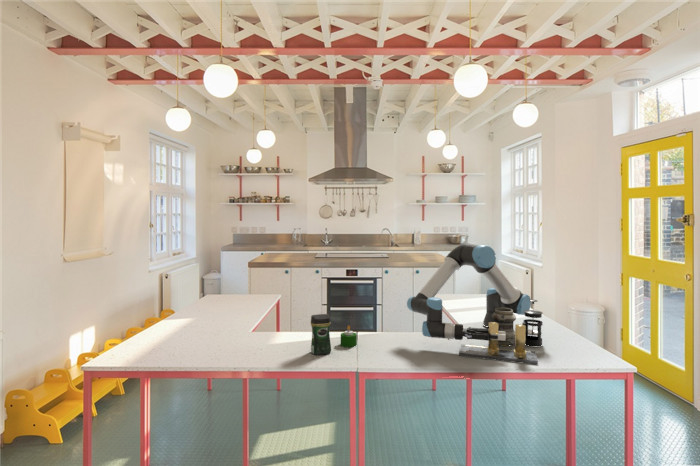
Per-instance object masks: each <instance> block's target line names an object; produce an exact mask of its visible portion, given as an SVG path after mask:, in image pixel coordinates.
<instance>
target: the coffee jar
mask: <svg viewBox="0 0 700 466" xmlns="http://www.w3.org/2000/svg"><path fill="white" fill-rule="evenodd" d="M310 317H311V318H310V326H311V345H310V352H311V354H312V355H315V356H316V355H317V356H321V355H328V354H330V353H332V346H331V345H332V344H331V335H330V334H331V333H330V326H331V324H332V322H331V316H330V315H329V313H322V314H320V313H319V314H318V313H317V314H312V315H311V316H310Z"/></svg>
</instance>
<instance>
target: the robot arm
mask: <svg viewBox="0 0 700 466" xmlns="http://www.w3.org/2000/svg"><path fill="white" fill-rule="evenodd" d="M496 260H497V256H496V252H495V250H494V249H493V247H491V246H489V245H486V244H471V243H461V244H459V245H457V246H456V247H454V248H453V249H452V250H450V252H449V253H448V254H447V255H446V256H445V257H444V261H443V262H442V264H441V265H440V266H439V267H438V269H437V270H435V273H434V274H433V275H432V276H431V277H430V279H429V280H428V281H427V282H426V283H425V284H424V286H423V287H422V288H421V290H420V291H419V292H418V293H417V295H415V296H410V297H409V298H408V299H407V302H406V307H407V309H408V310H410V311H412V312H414V313H418V314H421V315H425V316H426V320H423V322H422V325H421V326H422V327H421V332H422V335H423V336H424V337H426V338H427V337H428V338H434V339H446V340H448V341H450V340H459V341H462V340H463V339H464V338H466V340H481V341H491V339H492V340H503V341H506V335H505V333H506V332H503V331H498V334H494V333H491V334H489V328H482V327H481V328H480V327H472V326H469V327H467V328H464V325H463V324H461V323H451V322H443V308H444V306H443V300H442V298H440V297H436V295H437V294H438V293H439V291H440V290H441V289H442V288H443V287H444V286H445V284H446V283H447V282H448V281H449V279H450V278H451V276H452V275H454V273H455V272H456V271H459V270H460V269H461V268H462V267H463V266H470V267H472V268H473V269H474V270H475V271H476V273H479V274H482V275H483V277H484V278H485V279H486V280H487V282H488V283H489V284H490V285H491V286H492V287H491V288H488V289H486V295H485V296H486V304H485V305H486V310H485V311H486V313H485V316H484V319H483V322H482V323H483V324H484V325H485V326H488V327H489V322H494V319H493V318H492V314H493V313H494V312H495V309H496V308H509V309H512V310H513V314H516V315H521V316H525V313H524V311H525V310H531V306H532V301H529V300H532V298H531V296H530V295H529V294H526V293H523V292H522V291H521V290H520V289H519V288H518V287H516V286H513V284H512V283H511V282H510V280H508V277H506V275H505V274H504V273H503V272H502V270H501V269H500V268H499V267H498V265H497V264H496ZM483 324H482V325H483ZM485 326H484V327H485Z"/></svg>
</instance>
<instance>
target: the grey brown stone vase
mask: <svg viewBox="0 0 700 466" xmlns="http://www.w3.org/2000/svg"><path fill="white" fill-rule="evenodd" d="M492 318H493V319H494V322H497V323H498V331H503V332H506V333H505V335H506V341H503V340H498V346H499V345H502V346H501V347H510V346H509V345H513V346H514V343H513V342H512V341H510V340H512V339H515V329H514V322H515V321H516V319H517V316H516V315H515V313H513V310H512V309H509V308H496V309H495V312H494V313H493V314H492Z"/></svg>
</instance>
